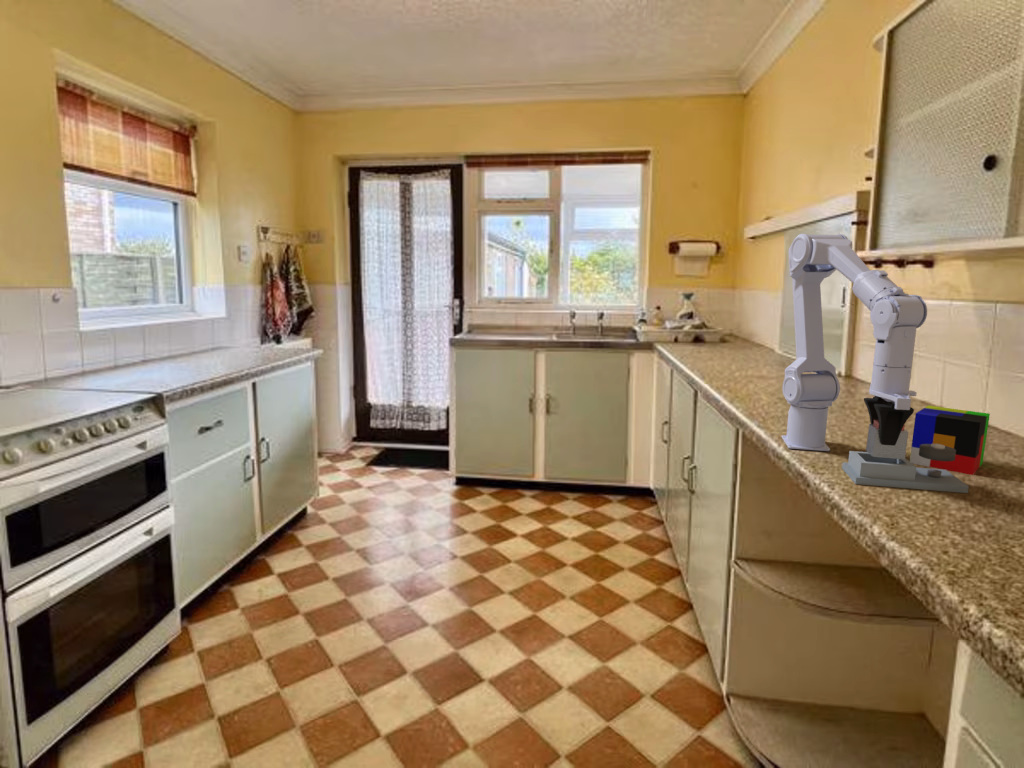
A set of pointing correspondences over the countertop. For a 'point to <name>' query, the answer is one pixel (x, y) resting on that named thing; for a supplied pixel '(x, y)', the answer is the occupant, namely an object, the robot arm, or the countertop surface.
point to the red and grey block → (885, 451)
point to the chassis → (899, 474)
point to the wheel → (937, 452)
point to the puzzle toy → (951, 437)
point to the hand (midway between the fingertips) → (883, 441)
